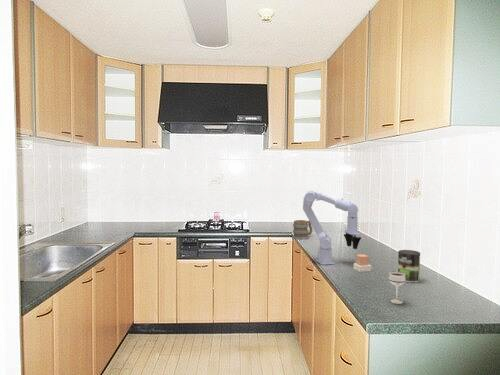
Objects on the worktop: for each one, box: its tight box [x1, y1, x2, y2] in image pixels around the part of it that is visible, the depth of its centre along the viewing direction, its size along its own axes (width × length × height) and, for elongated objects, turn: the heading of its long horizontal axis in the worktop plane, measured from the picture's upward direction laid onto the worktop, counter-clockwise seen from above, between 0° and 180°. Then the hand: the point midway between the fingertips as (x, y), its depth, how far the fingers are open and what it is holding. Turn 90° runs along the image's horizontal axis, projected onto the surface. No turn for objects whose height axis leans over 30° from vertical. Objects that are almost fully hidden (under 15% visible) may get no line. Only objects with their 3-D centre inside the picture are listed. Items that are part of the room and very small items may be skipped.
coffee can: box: [397, 249, 421, 284], centre depth 189 cm, size 10×10×14 cm
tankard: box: [291, 219, 313, 241], centre depth 304 cm, size 20×13×15 cm, turn 114°
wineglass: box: [388, 270, 406, 305], centre depth 158 cm, size 7×7×12 cm
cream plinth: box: [353, 262, 372, 273], centre depth 208 cm, size 7×7×3 cm
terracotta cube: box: [355, 254, 370, 266], centre depth 208 cm, size 5×5×5 cm
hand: (352, 247), depth 220 cm, fingers open, 7 cm apart
